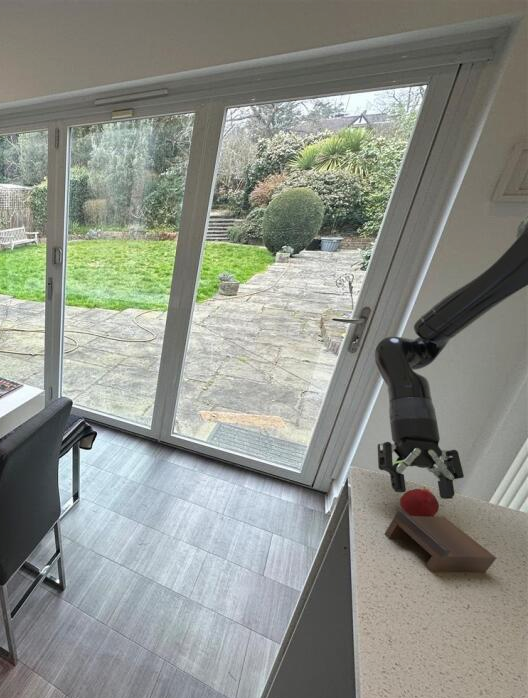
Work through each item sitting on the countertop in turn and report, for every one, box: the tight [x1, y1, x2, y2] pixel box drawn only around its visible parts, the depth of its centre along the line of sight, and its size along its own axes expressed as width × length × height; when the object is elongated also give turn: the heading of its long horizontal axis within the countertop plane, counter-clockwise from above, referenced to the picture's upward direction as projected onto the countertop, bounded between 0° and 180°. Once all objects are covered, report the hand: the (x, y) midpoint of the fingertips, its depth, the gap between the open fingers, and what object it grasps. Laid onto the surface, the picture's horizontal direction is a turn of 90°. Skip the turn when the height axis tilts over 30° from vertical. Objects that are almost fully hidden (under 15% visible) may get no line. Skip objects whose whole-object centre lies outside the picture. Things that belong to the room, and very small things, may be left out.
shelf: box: [384, 509, 497, 574], centre depth 78 cm, size 10×10×7 cm
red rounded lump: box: [399, 486, 440, 517], centre depth 86 cm, size 6×6×8 cm
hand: (423, 495), depth 86 cm, fingers open, 8 cm apart
